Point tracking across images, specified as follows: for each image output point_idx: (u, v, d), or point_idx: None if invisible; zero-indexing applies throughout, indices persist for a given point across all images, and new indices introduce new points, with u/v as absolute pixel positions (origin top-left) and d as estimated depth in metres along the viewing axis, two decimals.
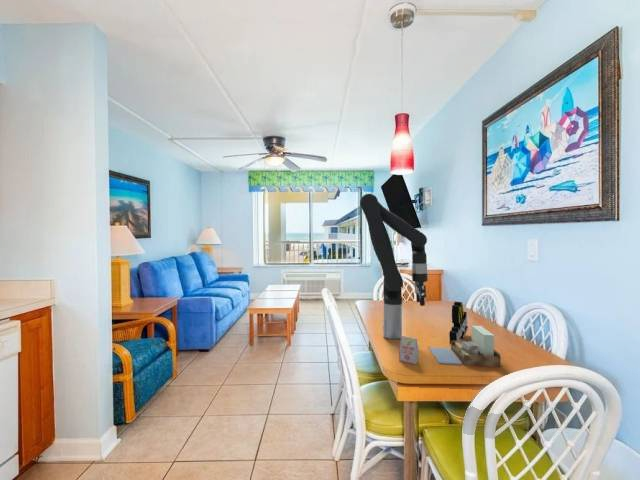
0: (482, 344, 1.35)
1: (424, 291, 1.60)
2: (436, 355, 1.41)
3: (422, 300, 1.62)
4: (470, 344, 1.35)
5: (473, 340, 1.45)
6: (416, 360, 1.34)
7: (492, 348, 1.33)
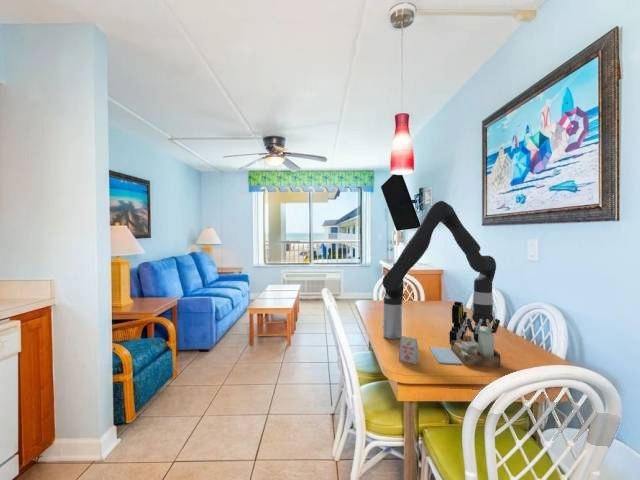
0: (482, 343, 1.35)
1: None
2: (436, 355, 1.41)
3: None
4: (469, 344, 1.35)
5: (473, 340, 1.45)
6: (416, 360, 1.34)
7: (492, 348, 1.33)
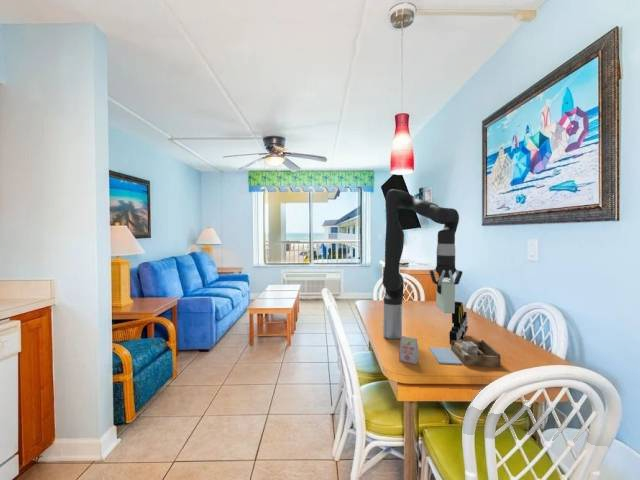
0: (443, 293, 1.36)
1: None
2: (436, 355, 1.41)
3: None
4: (470, 344, 1.35)
5: (437, 293, 1.46)
6: (416, 360, 1.34)
7: (453, 297, 1.34)
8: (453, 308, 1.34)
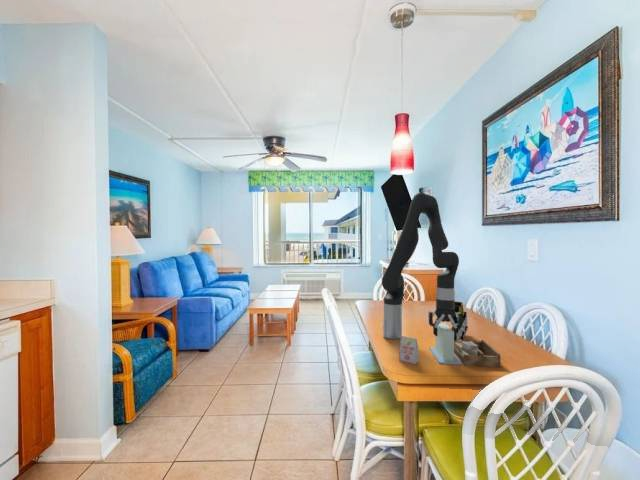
0: (443, 340, 1.36)
1: None
2: (436, 355, 1.41)
3: None
4: (470, 344, 1.35)
5: (437, 337, 1.47)
6: (416, 360, 1.34)
7: (452, 345, 1.35)
8: (452, 356, 1.35)
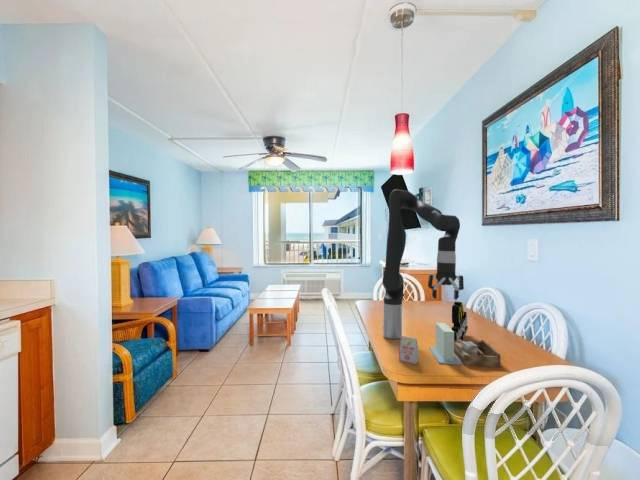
0: (443, 340, 1.36)
1: None
2: (436, 355, 1.41)
3: None
4: (469, 344, 1.35)
5: (437, 337, 1.47)
6: (416, 360, 1.34)
7: (452, 345, 1.35)
8: (452, 356, 1.35)
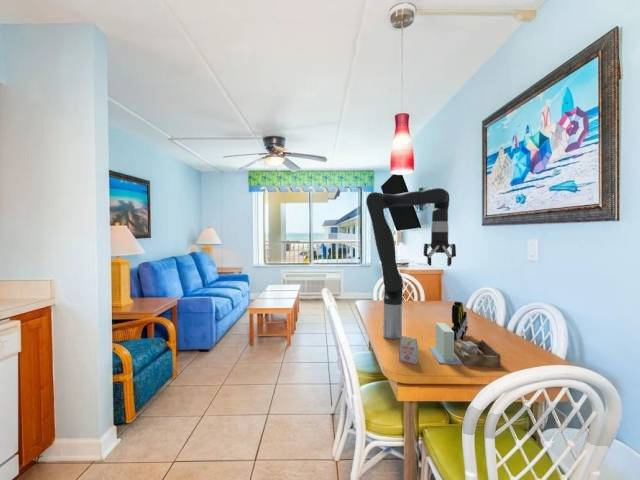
0: (443, 340, 1.36)
1: None
2: (436, 355, 1.41)
3: (450, 260, 1.54)
4: (469, 344, 1.35)
5: (437, 337, 1.47)
6: (416, 360, 1.34)
7: (452, 345, 1.35)
8: (452, 356, 1.35)
